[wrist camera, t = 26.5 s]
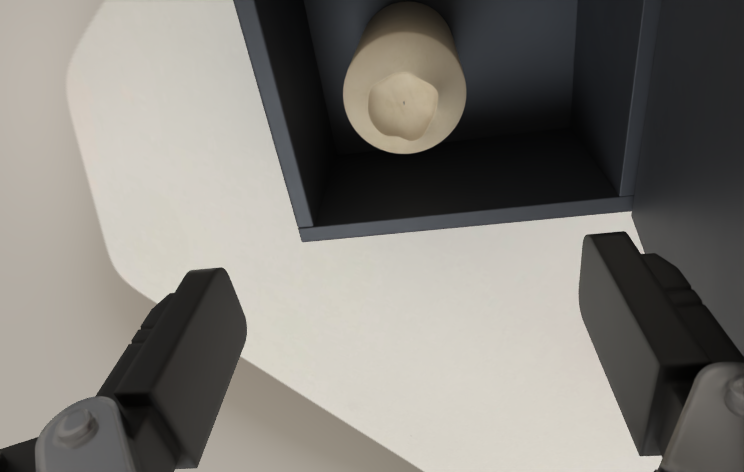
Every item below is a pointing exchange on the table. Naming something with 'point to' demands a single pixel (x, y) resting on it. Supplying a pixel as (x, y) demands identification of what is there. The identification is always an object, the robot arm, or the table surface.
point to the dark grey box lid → (697, 154)
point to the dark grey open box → (479, 119)
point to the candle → (405, 80)
